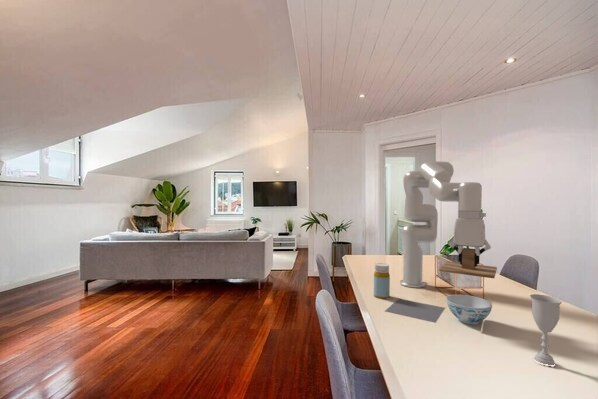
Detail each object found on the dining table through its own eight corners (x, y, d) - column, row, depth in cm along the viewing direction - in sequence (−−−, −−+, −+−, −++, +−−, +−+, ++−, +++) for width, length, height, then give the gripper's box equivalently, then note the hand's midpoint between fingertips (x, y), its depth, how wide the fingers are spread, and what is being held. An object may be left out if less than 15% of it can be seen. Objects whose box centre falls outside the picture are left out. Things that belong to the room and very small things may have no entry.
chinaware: (489, 318, 119) (489, 297, 119) (494, 333, 105) (495, 310, 105) (445, 311, 125) (446, 292, 125) (446, 325, 112) (446, 304, 112)
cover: (447, 263, 127) (447, 244, 127) (496, 269, 117) (497, 248, 117) (439, 271, 113) (439, 249, 113) (494, 278, 103) (494, 255, 103)
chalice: (522, 356, 90) (523, 294, 90) (544, 355, 91) (545, 294, 91) (544, 370, 83) (545, 303, 83) (568, 369, 84) (569, 302, 83)
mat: (398, 299, 139) (398, 298, 139) (445, 308, 129) (445, 307, 129) (384, 312, 124) (384, 311, 124) (435, 323, 113) (435, 322, 113)
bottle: (387, 295, 146) (388, 263, 145) (390, 300, 139) (391, 266, 138) (372, 294, 146) (373, 262, 146) (374, 299, 139) (375, 266, 139)
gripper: (496, 216, 113) (495, 266, 114) (446, 214, 123) (445, 260, 123) (495, 217, 107) (494, 270, 107) (443, 215, 117) (442, 263, 117)
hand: (468, 264), depth 115 cm, fingers closed on cover, 4 cm apart
